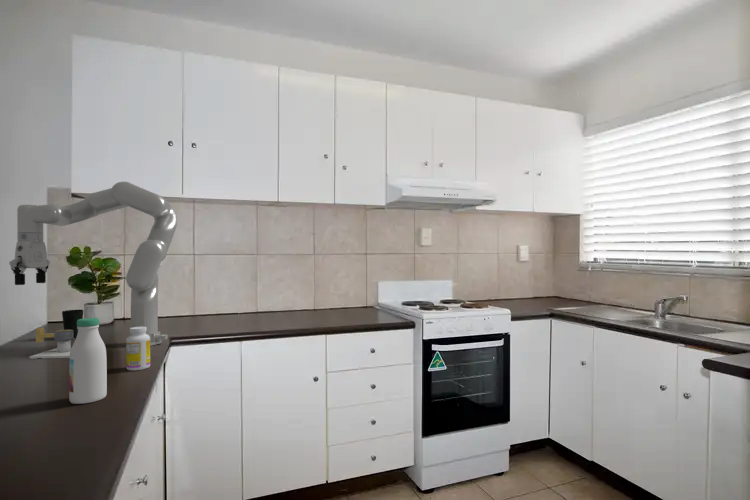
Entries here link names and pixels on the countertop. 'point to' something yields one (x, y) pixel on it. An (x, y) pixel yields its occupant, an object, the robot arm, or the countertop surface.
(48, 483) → the countertop surface
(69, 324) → the cup
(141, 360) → the supplement bottle
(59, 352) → the base plate
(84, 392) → the milk bottle
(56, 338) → the grey yellow elongated block
